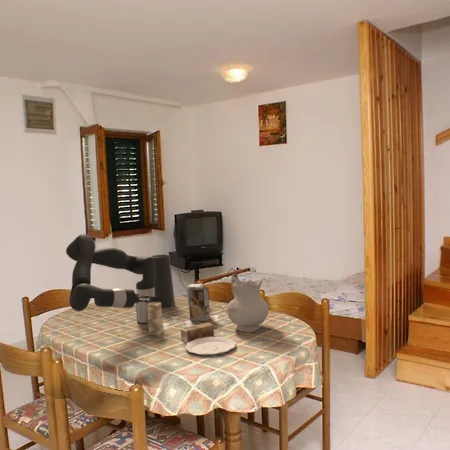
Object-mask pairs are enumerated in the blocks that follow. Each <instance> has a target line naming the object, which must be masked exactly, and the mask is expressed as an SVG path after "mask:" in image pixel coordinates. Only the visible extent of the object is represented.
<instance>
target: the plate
mask: <svg viewBox="0 0 450 450" xmlns="http://www.w3.org/2000/svg"><path fill="white" fill-rule="evenodd" d="M236 344H237V342H236V341H235V340H233V339H232V338H229V337H223V336H211V337H204V338H199V339H195V340H193V341H191V342H187V343H186V345H185V347H184V349H185V350H187V351H188V352H189V353H192V354H196V355H201V356H215V355H221V354H225V353H226V352H230V351H231V350H232V349H233V350H234V348H236Z"/></svg>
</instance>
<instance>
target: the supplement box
mask: <svg viewBox="0 0 450 450" xmlns="http://www.w3.org/2000/svg"><path fill="white" fill-rule="evenodd" d="M192 287H205V286H204V284H203V283H191V284H189V285H188V286H186V288H187V293H188V289H190V288H192ZM187 305H188V306H187V307H189V297H188V296H187Z"/></svg>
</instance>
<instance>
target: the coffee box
mask: <svg viewBox="0 0 450 450" xmlns="http://www.w3.org/2000/svg"><path fill="white" fill-rule="evenodd" d="M209 293H210V291H209V287H207V286H206V287H205V286H204V287H192V288H190V289H188V292H187V298H188V297H189V306H188V309H189V310H188V311H189V320H190V321H194V322H195V321H197V322H207V321H208V320H210V319H211V307H210V297H209V296H210V294H209Z"/></svg>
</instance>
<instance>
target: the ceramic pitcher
mask: <svg viewBox="0 0 450 450" xmlns="http://www.w3.org/2000/svg"><path fill="white" fill-rule="evenodd" d="M262 283H263V279H261V278H260V279H259V280H257V279H256V280H255V281H254V280H252V279H249V280H246V281H245V280H240V278H239V276H238V274H236V273H232V275H231V278H230V287H231V292H232V295H233V297H234V298H233V299H231V300H230V302H229V303H228V305H227V307H226V308H227V317H228V319H229V320H230V321H231V323H232V324H234V325H236V327H235V330H237V331H240V332H242V333H254V332H256V331H258V330H259V329H261V328H262V327H261V324H263V323H264V322H265V321H266V320H267V318H268V314H269V304H268V303H267V301H265V299H263V298H262V297H261V295H260V289H261V286H262V285H263V284H262Z"/></svg>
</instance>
